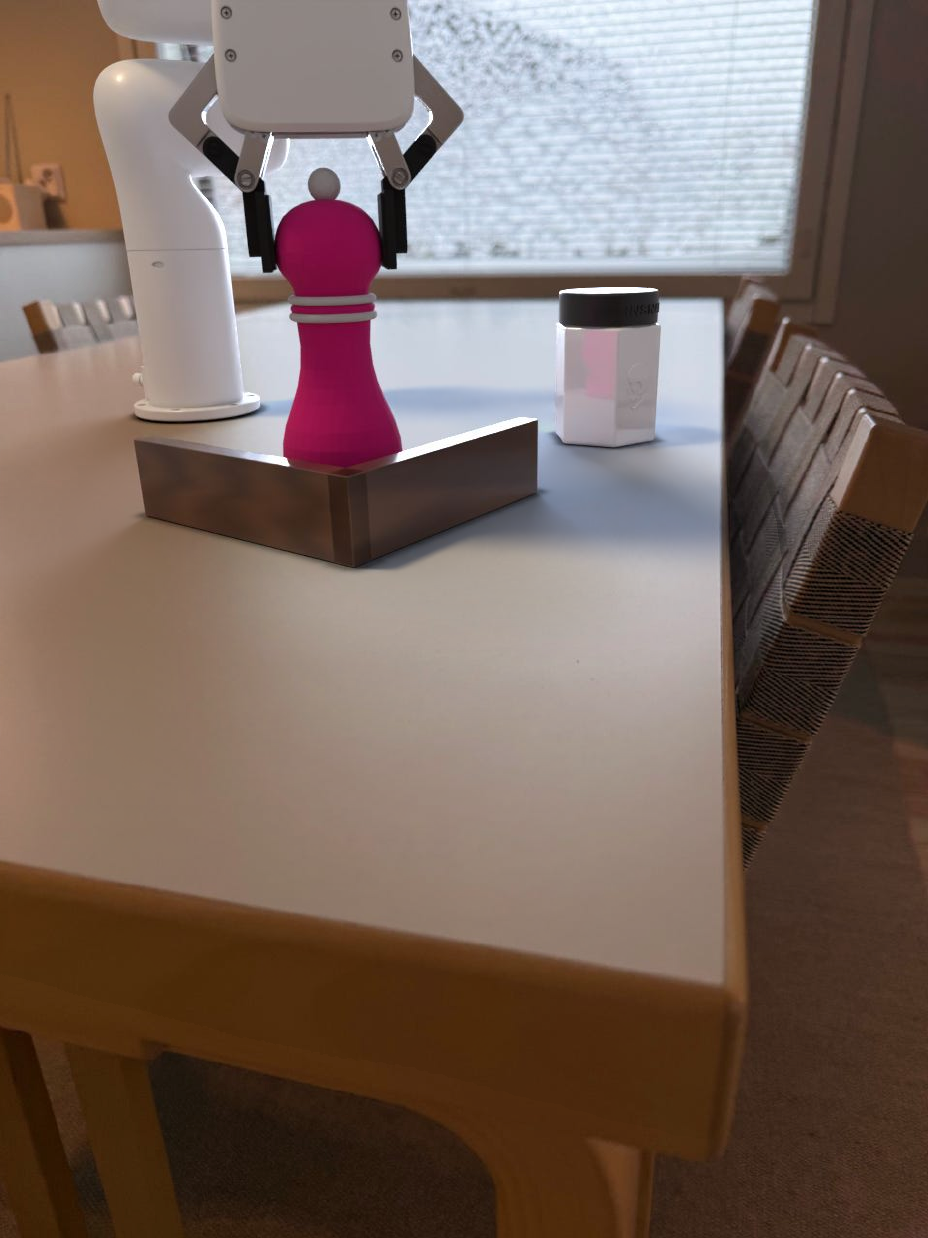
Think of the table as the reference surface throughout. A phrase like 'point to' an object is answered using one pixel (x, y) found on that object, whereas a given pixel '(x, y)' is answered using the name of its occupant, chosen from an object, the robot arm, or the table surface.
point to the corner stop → (339, 491)
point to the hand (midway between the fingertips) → (329, 266)
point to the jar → (607, 366)
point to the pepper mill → (334, 330)
